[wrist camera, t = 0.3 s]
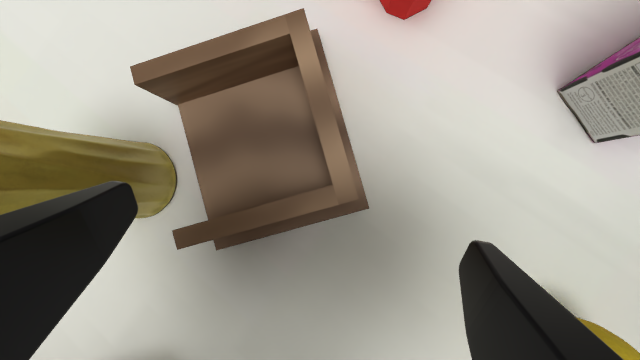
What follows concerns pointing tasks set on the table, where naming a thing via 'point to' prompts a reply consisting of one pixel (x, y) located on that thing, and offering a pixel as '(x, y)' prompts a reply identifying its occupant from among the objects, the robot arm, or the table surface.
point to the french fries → (404, 7)
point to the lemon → (613, 341)
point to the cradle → (259, 131)
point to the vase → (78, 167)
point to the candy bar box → (608, 96)
